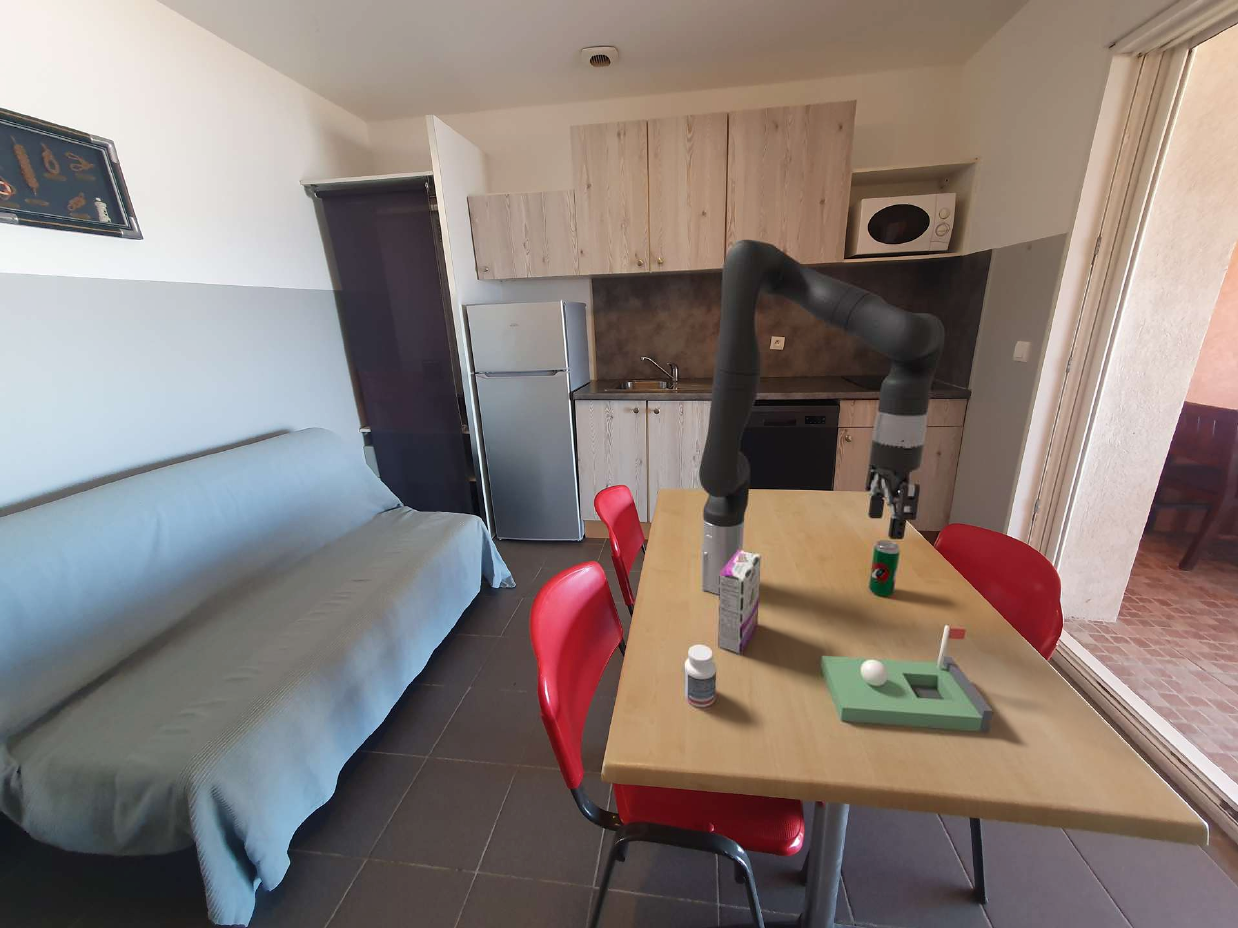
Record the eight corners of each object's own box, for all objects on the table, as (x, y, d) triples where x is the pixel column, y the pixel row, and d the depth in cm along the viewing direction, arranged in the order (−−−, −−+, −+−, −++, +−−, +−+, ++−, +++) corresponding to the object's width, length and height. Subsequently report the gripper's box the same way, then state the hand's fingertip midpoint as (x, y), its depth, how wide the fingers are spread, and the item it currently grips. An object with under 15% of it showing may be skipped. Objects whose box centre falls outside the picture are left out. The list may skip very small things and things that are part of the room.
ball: (864, 690, 78) (867, 670, 77) (855, 673, 82) (858, 653, 81) (890, 692, 77) (893, 671, 76) (880, 674, 81) (883, 655, 80)
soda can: (896, 598, 107) (904, 550, 103) (872, 596, 108) (878, 548, 104) (889, 586, 111) (896, 540, 108) (865, 584, 112) (871, 538, 109)
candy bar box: (734, 617, 102) (737, 548, 97) (758, 624, 100) (762, 553, 95) (715, 647, 93) (718, 572, 88) (740, 655, 91) (744, 579, 86)
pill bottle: (721, 703, 80) (722, 659, 77) (692, 711, 78) (693, 666, 76) (706, 681, 85) (707, 639, 82) (679, 688, 83) (679, 645, 81)
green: (840, 720, 76) (848, 662, 72) (820, 667, 87) (826, 615, 84) (991, 732, 72) (1006, 672, 69) (950, 675, 84) (961, 622, 81)
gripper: (858, 429, 87) (848, 511, 91) (893, 450, 73) (879, 545, 78) (901, 428, 86) (889, 512, 91) (945, 450, 72) (928, 546, 77)
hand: (884, 527), depth 84 cm, fingers open, 8 cm apart
